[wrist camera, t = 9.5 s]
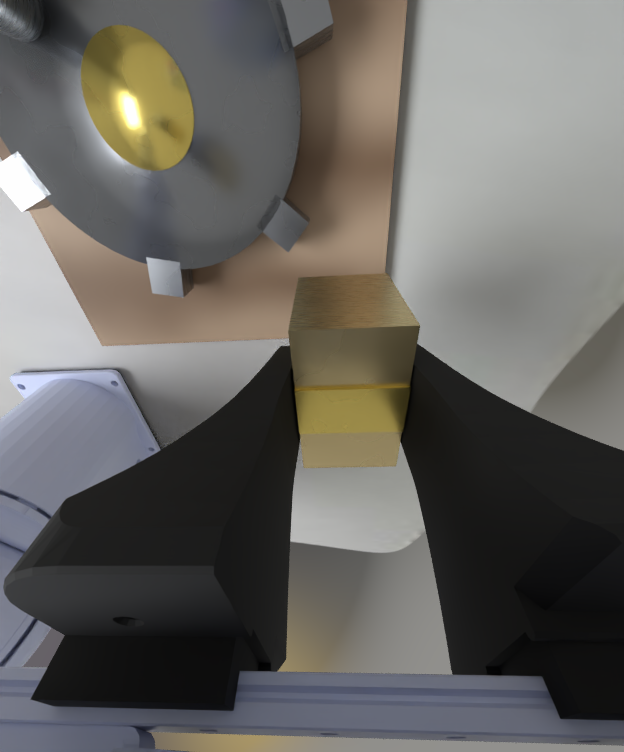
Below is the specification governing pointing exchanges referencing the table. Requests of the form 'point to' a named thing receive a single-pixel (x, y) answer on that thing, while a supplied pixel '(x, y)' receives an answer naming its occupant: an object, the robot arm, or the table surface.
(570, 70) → the table surface
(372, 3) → the light brown board
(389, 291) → the yellow-banded wooden block
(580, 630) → the robot arm
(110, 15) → the grey lugged dome
